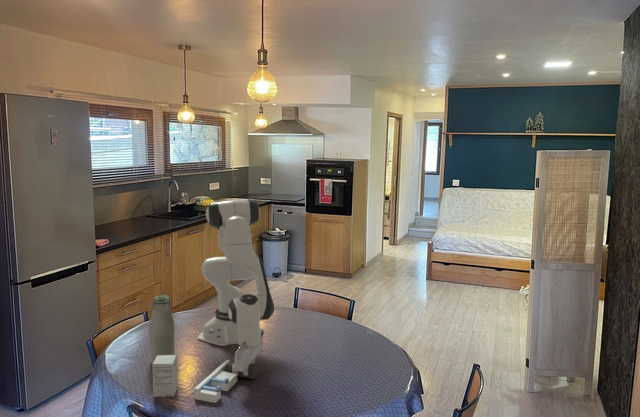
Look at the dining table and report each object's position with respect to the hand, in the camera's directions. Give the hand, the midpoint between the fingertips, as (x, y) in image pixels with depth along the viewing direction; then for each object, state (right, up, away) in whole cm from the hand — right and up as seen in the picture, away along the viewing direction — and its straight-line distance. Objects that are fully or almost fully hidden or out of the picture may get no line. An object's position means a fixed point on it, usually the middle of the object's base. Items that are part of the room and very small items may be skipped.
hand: (248, 371), depth 185 cm
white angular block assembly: (-9, -4, -5) cm, 11 cm away
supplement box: (-29, -4, -10) cm, 31 cm away
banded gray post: (-3, -2, +1) cm, 3 cm away
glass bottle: (-38, -1, +14) cm, 41 cm away
